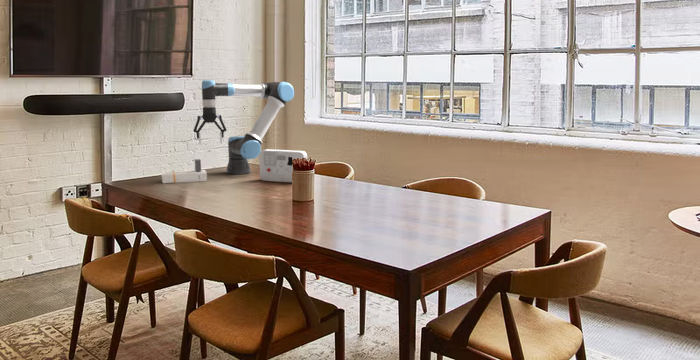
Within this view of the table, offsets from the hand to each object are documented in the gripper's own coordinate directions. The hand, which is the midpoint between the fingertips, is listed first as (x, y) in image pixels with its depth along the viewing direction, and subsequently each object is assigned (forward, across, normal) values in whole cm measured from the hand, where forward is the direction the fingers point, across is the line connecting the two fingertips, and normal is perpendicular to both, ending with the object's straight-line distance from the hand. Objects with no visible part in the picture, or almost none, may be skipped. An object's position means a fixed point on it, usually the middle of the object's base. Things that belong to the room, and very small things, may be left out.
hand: (210, 143), depth 393 cm
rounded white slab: (+22, -39, +20) cm, 49 cm away
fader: (+21, +8, 0) cm, 23 cm away
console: (+21, +16, 0) cm, 26 cm away
